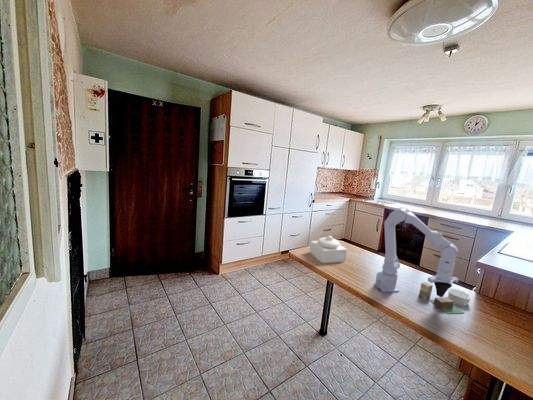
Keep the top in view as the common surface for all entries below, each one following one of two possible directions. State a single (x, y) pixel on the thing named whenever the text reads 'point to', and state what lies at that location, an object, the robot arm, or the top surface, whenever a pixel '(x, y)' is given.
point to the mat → (450, 309)
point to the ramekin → (459, 297)
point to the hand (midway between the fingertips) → (439, 295)
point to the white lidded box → (328, 250)
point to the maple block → (425, 290)
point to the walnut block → (443, 303)
